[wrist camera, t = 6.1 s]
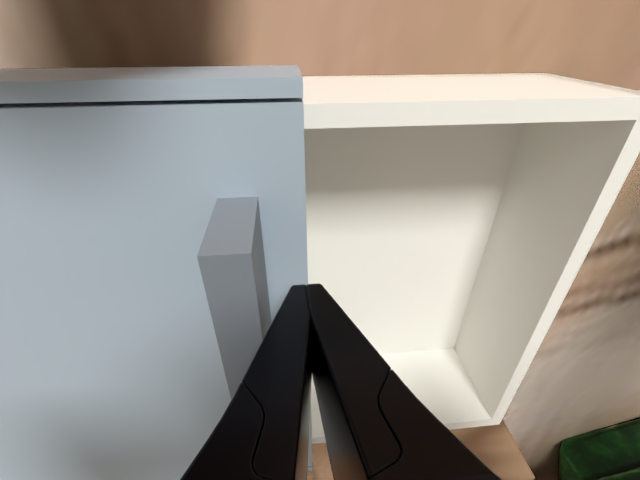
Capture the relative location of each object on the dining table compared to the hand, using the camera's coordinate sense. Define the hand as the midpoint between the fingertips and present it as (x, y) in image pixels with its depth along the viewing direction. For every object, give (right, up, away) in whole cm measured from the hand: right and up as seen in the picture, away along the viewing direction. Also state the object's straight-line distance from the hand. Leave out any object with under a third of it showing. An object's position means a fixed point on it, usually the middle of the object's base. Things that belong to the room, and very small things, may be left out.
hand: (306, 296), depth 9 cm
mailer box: (+3, +1, +8) cm, 8 cm away
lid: (-7, -1, +4) cm, 8 cm away
